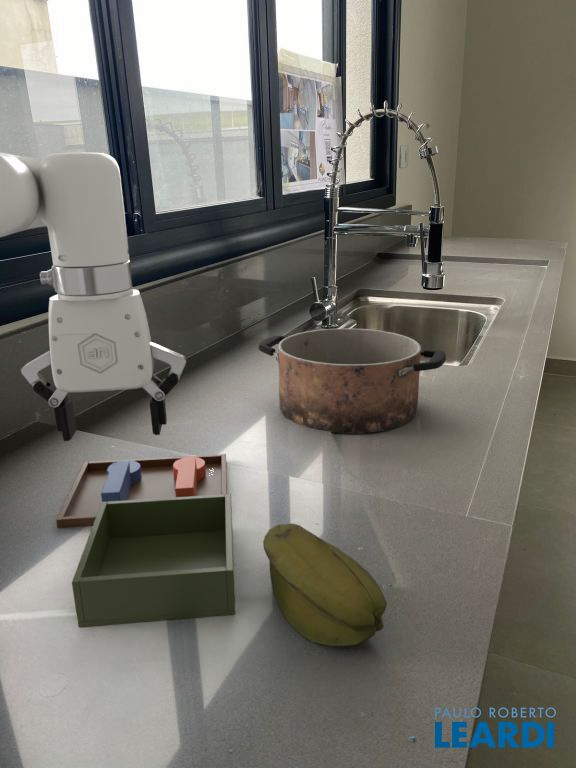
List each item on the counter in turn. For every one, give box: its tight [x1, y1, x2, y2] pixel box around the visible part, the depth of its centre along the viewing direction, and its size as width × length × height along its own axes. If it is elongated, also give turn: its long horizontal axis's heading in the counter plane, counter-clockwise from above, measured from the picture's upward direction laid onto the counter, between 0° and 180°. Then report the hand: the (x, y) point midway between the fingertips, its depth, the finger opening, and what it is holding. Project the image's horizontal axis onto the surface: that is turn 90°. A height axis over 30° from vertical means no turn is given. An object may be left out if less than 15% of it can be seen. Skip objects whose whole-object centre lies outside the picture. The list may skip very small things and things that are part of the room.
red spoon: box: [173, 457, 206, 497], centre depth 72 cm, size 4×11×3 cm, turn 6°
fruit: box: [262, 523, 388, 647], centre depth 51 cm, size 11×12×7 cm
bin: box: [71, 493, 236, 628], centre depth 57 cm, size 13×13×4 cm
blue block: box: [101, 461, 142, 502], centre depth 72 cm, size 4×11×3 cm, turn 6°
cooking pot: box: [257, 327, 447, 435], centre depth 97 cm, size 30×22×11 cm
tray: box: [55, 453, 228, 529], centre depth 72 cm, size 18×14×1 cm
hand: (114, 433), depth 68 cm, fingers open, 9 cm apart
